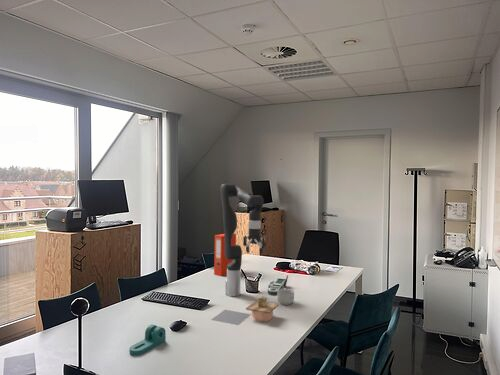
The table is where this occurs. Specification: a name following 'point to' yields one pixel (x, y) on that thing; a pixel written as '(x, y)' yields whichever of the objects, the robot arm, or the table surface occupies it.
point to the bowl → (262, 316)
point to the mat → (231, 317)
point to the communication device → (276, 285)
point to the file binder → (221, 255)
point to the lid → (262, 306)
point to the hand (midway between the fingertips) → (254, 253)
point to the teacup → (285, 296)
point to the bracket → (149, 340)
